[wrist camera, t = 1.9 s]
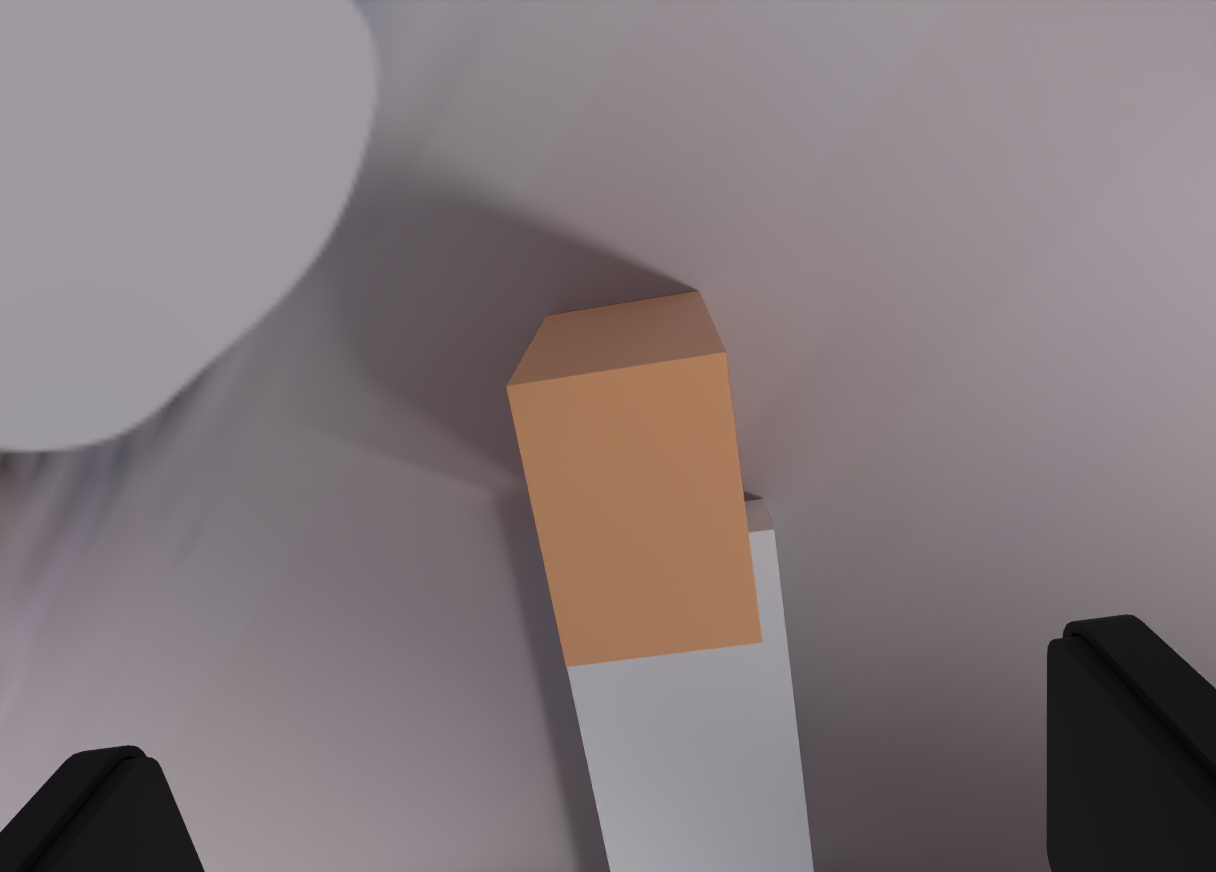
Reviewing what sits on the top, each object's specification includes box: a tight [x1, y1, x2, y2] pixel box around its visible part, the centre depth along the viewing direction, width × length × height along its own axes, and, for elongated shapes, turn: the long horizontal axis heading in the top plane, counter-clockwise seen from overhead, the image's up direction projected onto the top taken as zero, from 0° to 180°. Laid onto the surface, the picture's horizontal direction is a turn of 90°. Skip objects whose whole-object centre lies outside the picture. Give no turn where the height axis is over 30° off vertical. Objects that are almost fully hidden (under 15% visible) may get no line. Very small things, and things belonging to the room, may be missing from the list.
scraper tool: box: [506, 291, 814, 872], centre depth 22 cm, size 6×23×7 cm, turn 10°
